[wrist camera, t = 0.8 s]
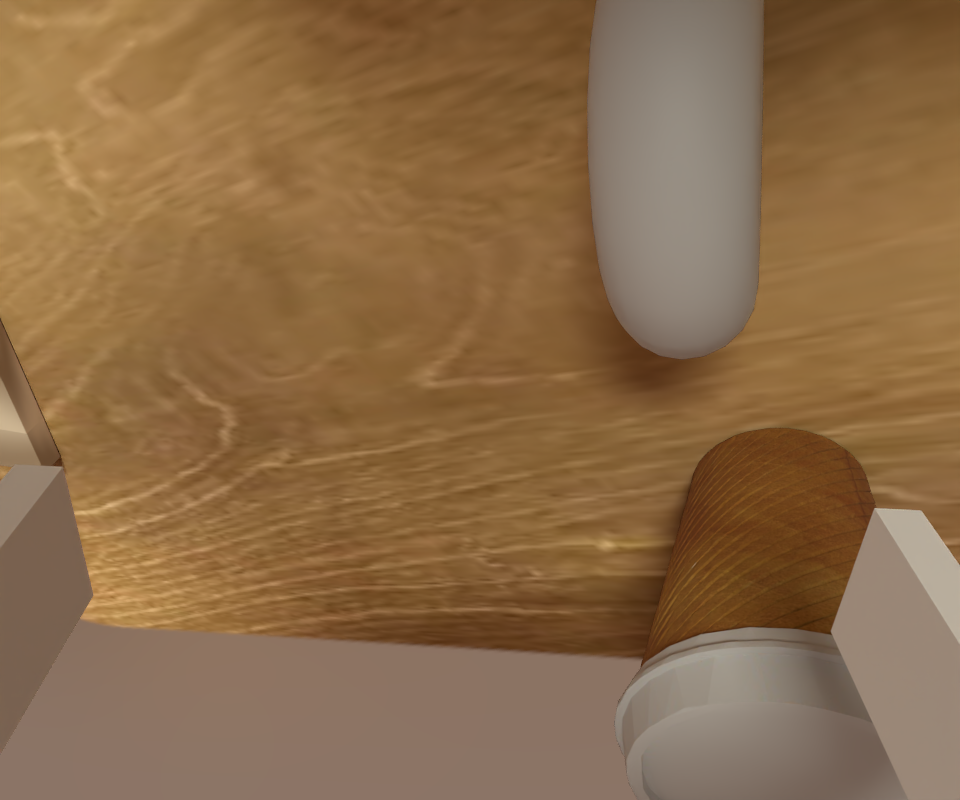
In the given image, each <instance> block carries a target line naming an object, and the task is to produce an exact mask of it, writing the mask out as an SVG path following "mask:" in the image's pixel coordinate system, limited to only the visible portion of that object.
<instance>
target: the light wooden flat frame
mask: <svg viewBox="0 0 960 800" xmlns="http://www.w3.org/2000/svg"><path fill="white" fill-rule="evenodd" d="M59 458H60V455H59V452H58V450H57V448H56V446H55V443H54V441H53V439H52V437H51V434H50V432H49V430H48V427H47V425H46V423H45V421H44V418H43V416H42V414H41V412H40V409H39V407H38V405H37V402H36V400H35V398H34V396H33V393H32V391H31V389H30V387H29V384H28V382H27V380H26V377H25V375H24V373H23V371H22V368H21V366H20V364H19V362H18V359H17V357H16V355H15V352H14V350H13V348H12V346H11V343H10V341H9V339H8V337H7V334H6V332H5V330H4V327H3V325H2V323H1V321H0V465H3V466H8V467H13V466H14V465H15V464H18V465H37V466H52V465H53V464H54V463H55V462H56V461H57V460H58V459H59Z"/></svg>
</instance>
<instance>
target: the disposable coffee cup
mask: <svg viewBox="0 0 960 800" xmlns="http://www.w3.org/2000/svg"><path fill="white" fill-rule="evenodd" d="M870 492H871V490H870V487H869V484H868V480H867V477H866V474H865V472H864V471H863V469H862V467H861V465H860V464H859V462H858V461H857V460H856V459H855V458H854V457H853V456H852V454H851V453H849V452H848V451H847V450H845V449H844V448H842V447H841V446H839V445H838V444H837V443H835V442H833V441H831V440H829V439H827V438H825V437H823V436H820V435H817V434H813V433H810V432H807V431H802V430H795V429H788V428H767V429H761V430H755V431H749V432H745V433H742V434H739V435H735V436H733V437H731V438H729V439H727V440H725V441H724V442H722V443H720V444H718V445H717V446H715V447H714V448H713V449H712V450H710V451H709V452H708V453H707V454H706V455H705V456H704V457H703V458H702V460H701V461H700V462H699V464H698V466H697V468H696V470H695V472H694V475H693V479H692V484H691V487H690V491H689V495H688V499H687V503H686V506H685V509H684V512H683V517H682V520H681V523H680V527H679V531H678V534H677V538H676V541H675V544H674V547H673V552H672V556H671V559H670V563H669V567H668V570H667V574H666V578H665V581H664V584H663V587H662V592H661V597H660V600H659V604H658V607H657V610H656V613H655V616H654V621H653V625H652V628H651V631H650V635H649V640H648V644H647V647H646V651H645V654H644V657H643V660H642V664H641V668H640V670H639V671H638V673H637V674H636V675H635V677H634V678H633V679H632V681H631V683H630V684H629V686H628V687H627V689H626V690H625V692H624V693H623V695H622V697H621V698H620V699H619V701H618V706H617V711H616V716H615V721H614V725H615V734H616V739H617V742H618V744H619V747H620V749H621V751H622V754H623V755H624V757H625V764H626V773H627V777H628V781H629V785H630V787H631V788H632V790H633V792H634V794H635V796H636V797H637V799H638V800H908V798H907V796H906V794H905V792H904V790H903V788H902V785H901V783H900V781H899V779H898V777H897V775H896V772H895V770H894V768H893V766H892V764H891V761H890V759H889V757H888V755H887V753H886V751H885V748H884V746H883V744H882V742H881V740H880V738H879V735H878V733H877V731H876V729H875V727H874V725H873V722H872V720H871V718H870V716H869V714H868V711H867V709H866V707H865V705H864V703H863V701H862V698H861V696H860V694H859V692H858V690H857V688H856V685H855V683H854V681H853V679H852V677H851V675H850V672H849V670H848V668H847V666H846V664H845V662H844V659H843V657H842V655H841V653H840V651H839V648H838V646H837V644H836V642H835V640H834V638H833V635H832V633H831V629H832V626H833V624H834V621H835V618H836V615H837V612H838V609H839V607H840V604H841V601H842V598H843V595H844V593H845V590H846V587H847V584H848V581H849V578H850V576H851V573H852V570H853V567H854V564H855V561H856V559H857V556H858V553H859V550H860V547H861V544H862V542H863V539H864V536H865V533H866V530H867V528H868V525H869V522H870V519H871V516H872V513H873V511H874V508H876V505H874V504H875V502H874V499H873V496H872V493H870Z"/></svg>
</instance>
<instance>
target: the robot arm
mask: <svg viewBox="0 0 960 800" xmlns="http://www.w3.org/2000/svg"><path fill="white" fill-rule="evenodd" d="M92 597H93V592H92V587H91V583H90V579H89V575H88V571H87V566H86V562H85V558H84V554H83V549H82V545H81V541H80V537H79V532H78V528H77V524H76V520H75V516H74V511H73V507H72V503H71V499H70V494H69V490H68V486H67V482H66V478H65V473H64V469H63V467H57V466H37V465H18V464H15V465H14V466H13V467H12V469H11V470H10V471H9V472H8V473H7V474H6V475H5V477H4V478H3V479H2V480H1V481H0V754H1V753H2V751H3V749H4V747H5V746H6V744H7V742H8V741H9V739H10V737H11V735H12V734H13V732H14V730H15V729H16V727H17V725H18V723H19V722H20V720H21V718H22V716H23V715H24V713H25V711H26V710H27V708H28V706H29V705H30V703H31V701H32V699H33V698H34V696H35V694H36V692H37V691H38V689H39V687H40V686H41V684H42V682H43V680H44V679H45V677H46V675H47V674H48V672H49V670H50V669H51V667H52V665H53V663H54V662H55V660H56V658H57V657H58V655H59V653H60V651H61V650H62V648H63V646H64V645H65V643H66V641H67V639H68V638H69V636H70V634H71V633H72V631H73V629H74V627H75V626H76V624H77V622H78V621H79V619H80V617H81V615H82V614H83V612H84V610H85V609H86V607H87V605H88V603H89V602H90V600H91V598H92ZM831 633H832V635H833V638H834V640H835V642H836V644H837V646H838V648H839V651H840V653H841V655H842V657H843V659H844V662H845V664H846V666H847V668H848V670H849V672H850V675H851V677H852V679H853V681H854V683H855V685H856V688H857V690H858V692H859V694H860V696H861V698H862V701H863V703H864V705H865V707H866V709H867V711H868V714H869V716H870V718H871V720H872V722H873V725H874V727H875V729H876V731H877V733H878V735H879V738H880V740H881V742H882V744H883V746H884V748H885V751H886V753H887V755H888V757H889V759H890V761H891V764H892V766H893V768H894V770H895V772H896V775H897V777H898V779H899V781H900V783H901V785H902V788H903V790H904V792H905V794H906V796H907V798H908V800H960V565H959V564H958V562H957V561H956V559H955V558H954V557H953V555H952V554H951V552H950V551H949V549H948V548H947V547H946V545H945V544H944V542H943V541H942V540H941V538H940V537H939V535H938V534H937V532H936V531H935V530H934V528H933V527H932V525H931V524H930V522H929V521H928V520H927V518H926V517H925V515H924V514H923V512H922V511H921V510H901V509H881V508H874V511H873V513H872V516H871V519H870V522H869V525H868V528H867V530H866V533H865V536H864V539H863V542H862V544H861V547H860V550H859V553H858V556H857V559H856V561H855V564H854V567H853V570H852V573H851V576H850V578H849V581H848V584H847V587H846V590H845V593H844V595H843V598H842V601H841V604H840V607H839V609H838V612H837V615H836V618H835V621H834V624H833V626H832V629H831Z"/></svg>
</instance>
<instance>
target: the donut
mask: <svg viewBox="0 0 960 800" xmlns="http://www.w3.org/2000/svg"><path fill="white" fill-rule="evenodd" d="M763 64H764V0H597V1H596V6H595V13H594V21H593V28H592V35H591V42H590V56H589V77H588V97H587V121H588V170H589V183H590V196H591V210H592V223H593V230H594V237H595V243H596V250H597V257H598V263H599V270H600V273H601V277H602V281H603V284H604V288H605V291H606V295H607V299H608V301H609V303H610V305H611V307H612V309H613V312H614V314H615V316H616V318H617V319H618V321H619V322H620V324H621V325H622V326H623V328H624V329H625V330H626V332H627V333H628V334H629V335H630V336H631V337H632V338H633V339H634V340H635V341H636V342H637V343H638V344H639V345H640V346H642V347H644V348H646V349H648V350H650V351H652V352H654V353H656V354H657V355H659V356H664V357H670V358H676V359H689V358H695V357H702V356H706V355H708V354H710V353H712V352H714V351H716V350H718V349H720V348H722V347H725V346H726V345H727V344H728V343H729V342H730V341H731V340H732V339H733V338H735V337H736V336H737V335H738V334H739V333H740V332H741V331H742V330H743V328H744V326H745V324H746V323H747V321H748V319H749V317H750V315H751V314H752V312H753V310H754V305H755V300H756V294H757V289H758V280H759V254H760V219H761V177H762V127H763Z"/></svg>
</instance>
